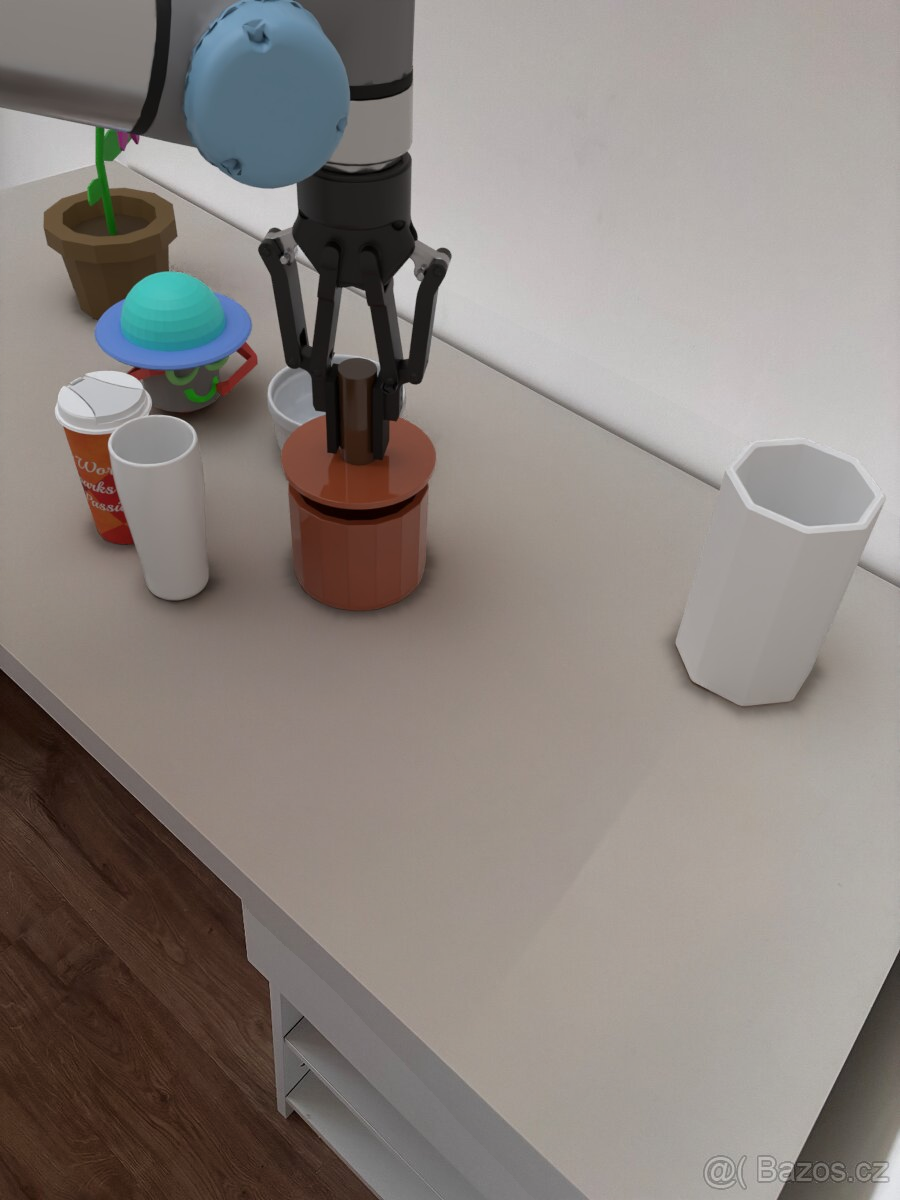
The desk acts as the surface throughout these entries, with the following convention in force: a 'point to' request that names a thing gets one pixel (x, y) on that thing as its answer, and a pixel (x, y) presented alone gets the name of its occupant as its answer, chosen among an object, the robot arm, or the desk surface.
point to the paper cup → (100, 439)
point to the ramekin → (298, 398)
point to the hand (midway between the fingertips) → (358, 445)
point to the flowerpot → (110, 233)
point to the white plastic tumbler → (163, 501)
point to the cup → (775, 567)
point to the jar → (359, 550)
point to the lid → (357, 451)
